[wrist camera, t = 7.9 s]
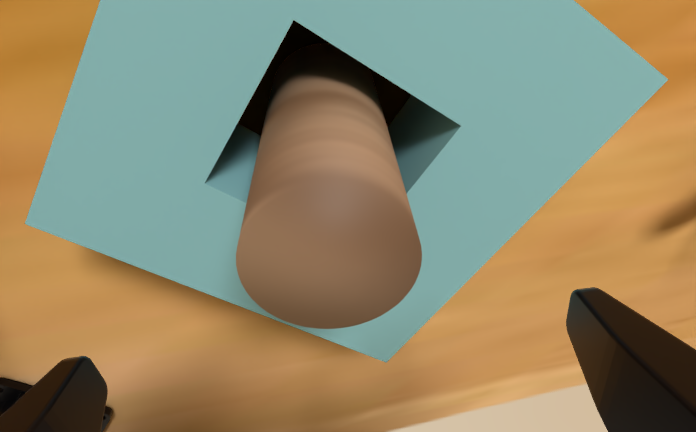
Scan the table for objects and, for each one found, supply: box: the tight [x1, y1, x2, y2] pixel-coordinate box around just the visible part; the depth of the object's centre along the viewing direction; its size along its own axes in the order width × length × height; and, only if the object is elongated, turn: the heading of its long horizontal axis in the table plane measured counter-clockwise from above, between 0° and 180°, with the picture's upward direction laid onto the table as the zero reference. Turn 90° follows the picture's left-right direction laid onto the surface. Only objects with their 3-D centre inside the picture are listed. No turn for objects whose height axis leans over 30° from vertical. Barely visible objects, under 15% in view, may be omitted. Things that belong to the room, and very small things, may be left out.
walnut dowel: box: [236, 43, 422, 329], centre depth 15 cm, size 4×4×10 cm
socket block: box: [25, 0, 668, 362], centre depth 17 cm, size 14×14×5 cm
